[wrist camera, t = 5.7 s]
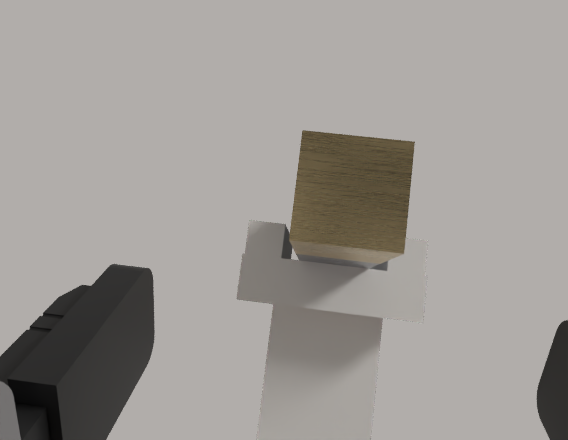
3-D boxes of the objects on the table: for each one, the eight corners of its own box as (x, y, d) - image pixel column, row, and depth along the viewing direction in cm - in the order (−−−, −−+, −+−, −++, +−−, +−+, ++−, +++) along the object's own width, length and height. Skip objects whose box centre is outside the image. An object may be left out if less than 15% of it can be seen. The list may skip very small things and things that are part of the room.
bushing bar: (348, 277, 36) (352, 234, 37) (404, 253, 13) (414, 141, 14) (305, 272, 36) (310, 230, 37) (288, 240, 14) (302, 130, 14)
